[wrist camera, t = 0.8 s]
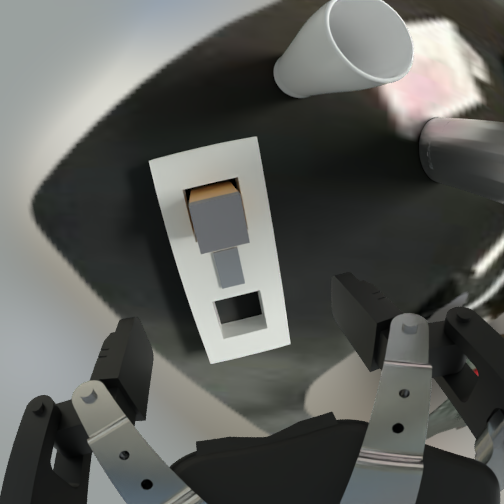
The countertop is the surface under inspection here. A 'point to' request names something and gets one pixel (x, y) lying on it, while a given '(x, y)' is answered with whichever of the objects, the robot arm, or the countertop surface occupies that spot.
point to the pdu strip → (229, 259)
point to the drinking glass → (346, 50)
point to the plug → (218, 217)
